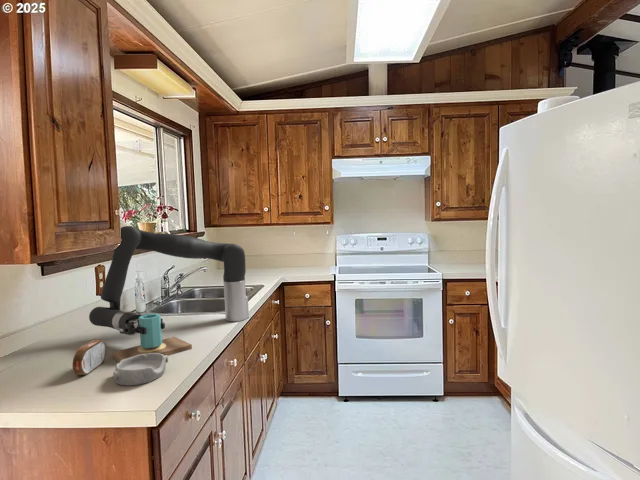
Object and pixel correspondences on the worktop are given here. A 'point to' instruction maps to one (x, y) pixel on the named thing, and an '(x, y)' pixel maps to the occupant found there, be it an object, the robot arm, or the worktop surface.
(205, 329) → the worktop surface
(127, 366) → the dish
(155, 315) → the collar
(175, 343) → the post stand
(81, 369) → the tin
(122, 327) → the robot arm
